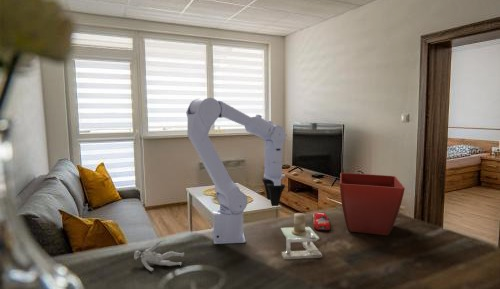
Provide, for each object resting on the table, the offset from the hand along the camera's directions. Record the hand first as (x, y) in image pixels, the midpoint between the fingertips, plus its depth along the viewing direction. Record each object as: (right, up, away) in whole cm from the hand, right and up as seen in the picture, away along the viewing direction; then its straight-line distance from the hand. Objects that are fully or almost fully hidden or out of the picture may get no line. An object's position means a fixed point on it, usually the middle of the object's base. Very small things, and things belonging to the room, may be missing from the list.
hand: (272, 202), depth 105 cm
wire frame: (+6, -11, -15) cm, 20 cm away
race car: (+17, -10, +6) cm, 21 cm away
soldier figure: (-31, -12, -24) cm, 41 cm away
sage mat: (+8, -10, -3) cm, 13 cm away
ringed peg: (+8, -9, -3) cm, 13 cm away
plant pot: (+33, -10, +4) cm, 34 cm away
